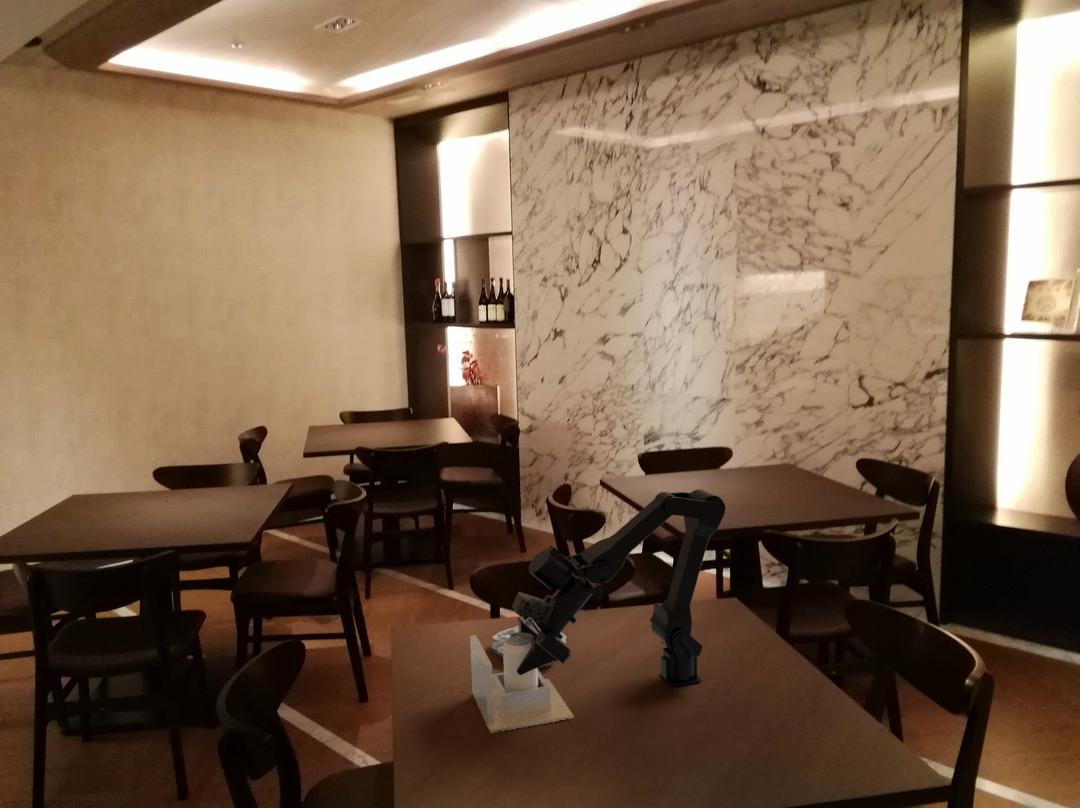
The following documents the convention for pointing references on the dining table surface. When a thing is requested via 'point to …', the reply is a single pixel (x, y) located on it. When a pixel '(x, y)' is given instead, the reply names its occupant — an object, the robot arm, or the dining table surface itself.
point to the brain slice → (500, 641)
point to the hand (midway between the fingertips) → (513, 666)
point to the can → (517, 663)
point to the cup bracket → (512, 697)
